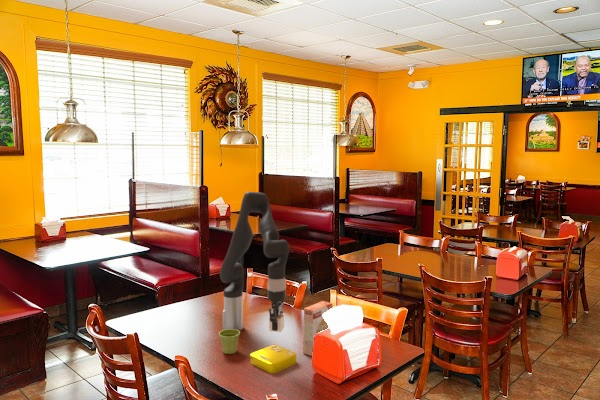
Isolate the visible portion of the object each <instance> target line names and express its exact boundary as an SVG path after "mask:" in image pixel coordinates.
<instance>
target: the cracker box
mask: <svg viewBox="0 0 600 400" xmlns="http://www.w3.org/2000/svg"><path fill="white" fill-rule="evenodd" d="M330 308H332V309H333V303H331V302H328V301H324V300H322V301H319V302H317V303H314V304H312V305H309V306H306V307H304V308H303V329H302V330H303V334H302V335H303V338H302V344H303V346H302V348H303V349H302V354H304V355H308V356H309V357H312V352H313V342H314V335H315V334H316V333H318V332H320V331H322V330H325V329H327V328H328V325H327V323H326V322H325V321H324V319H323V317H322V314H323V313H324V312H326V311H327V310H329V309H330Z"/></svg>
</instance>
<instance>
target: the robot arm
mask: <svg viewBox="0 0 600 400" xmlns="http://www.w3.org/2000/svg"><path fill="white" fill-rule="evenodd" d="M268 197H269V196H268V195H267V194H266V193H264V192H258V191H256V192H255V191H246V192H245V193H244V195H243V197H242V201H241V205H240V210H239V214H238V219H237V222H236V225H235V227H234V231H233V233H232V237H231V239H230V243H229V246H228V249H227V253H226V255H225V257H224V259H223V261H222V264H221V266H220V270H219V278H220V281H221V282H222V283H223V284H229V285H228V286H227V287H225V288H224V289H223V310H222V312H221V314H222V330H226V329H236V330H239V331H240V332H241V330H243V328H244V327H243V326H244V325H243V323H244V322H243V321H244V319H243V317H244V316H243V313H244V312H243V308H244V307H243V291H244V287H245V286H244V283H245V281H244V280H245V269H244V267H243V264H241V263H240V262H238V261H239V260H240V259H241V258H242V256H244V254H246V252H247V251H248V250H249V248H250V246H251V243H252V240H253V236H254V234H253V230H252V226H251V225H250V222H249V214H250V213H258V214H259V213H260V214H262V217H261V219H260V221H259V225H258V229H259V232H260V235H261V237H262V243H263V254H264V256H265V257H267V258H268V259H274V258H277V259H276V260H275V261H273V262H270V263H269V264H268V265H267V284H266V287H267V290H266V291H267V296H266V297H267V301H270V302H271V304H270V308H269V309H268V312H269V313H268V314H269V318H270V322H272V330H273V331H272V332H275V331H277V330H278V316H279V314H283V315H284V301H285V300H286V297H287V295H286V294H287V293H286V292H287V291H286V290H287V288H286V287H287V286H286V284H287V283H286V265H287V261H288V257H289V254H290V244H289V242H288V241H287V240H286V239H279V238H280V233H279V230H278V228H277V226H276V224H275V221H274V218H273V213H272V209H271V205H270V204H271V203H270V201H269V198H268ZM273 317H274V319H273Z"/></svg>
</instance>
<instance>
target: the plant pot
mask: <svg viewBox="0 0 600 400" xmlns="http://www.w3.org/2000/svg"><path fill="white" fill-rule="evenodd" d="M240 334H241V330H240V331H239V330H236V329H226V330H223V329H222V330H220V331H219V332H218V336H219V338H220V342H221V348H222V353H223V354H229V355H233V354H235V353H237V350H238V343H239V337H240Z"/></svg>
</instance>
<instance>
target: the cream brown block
mask: <svg viewBox="0 0 600 400" xmlns="http://www.w3.org/2000/svg"><path fill="white" fill-rule="evenodd" d="M268 319H269V320H268V322H269V323H268V329H269V332H277V333H282V331H283V330H284V328H285V315H284V313H283V314H279V316H278V330H277V331H273V330H272V322H270V317H269V318H268ZM273 319H274V317H273Z"/></svg>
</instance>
